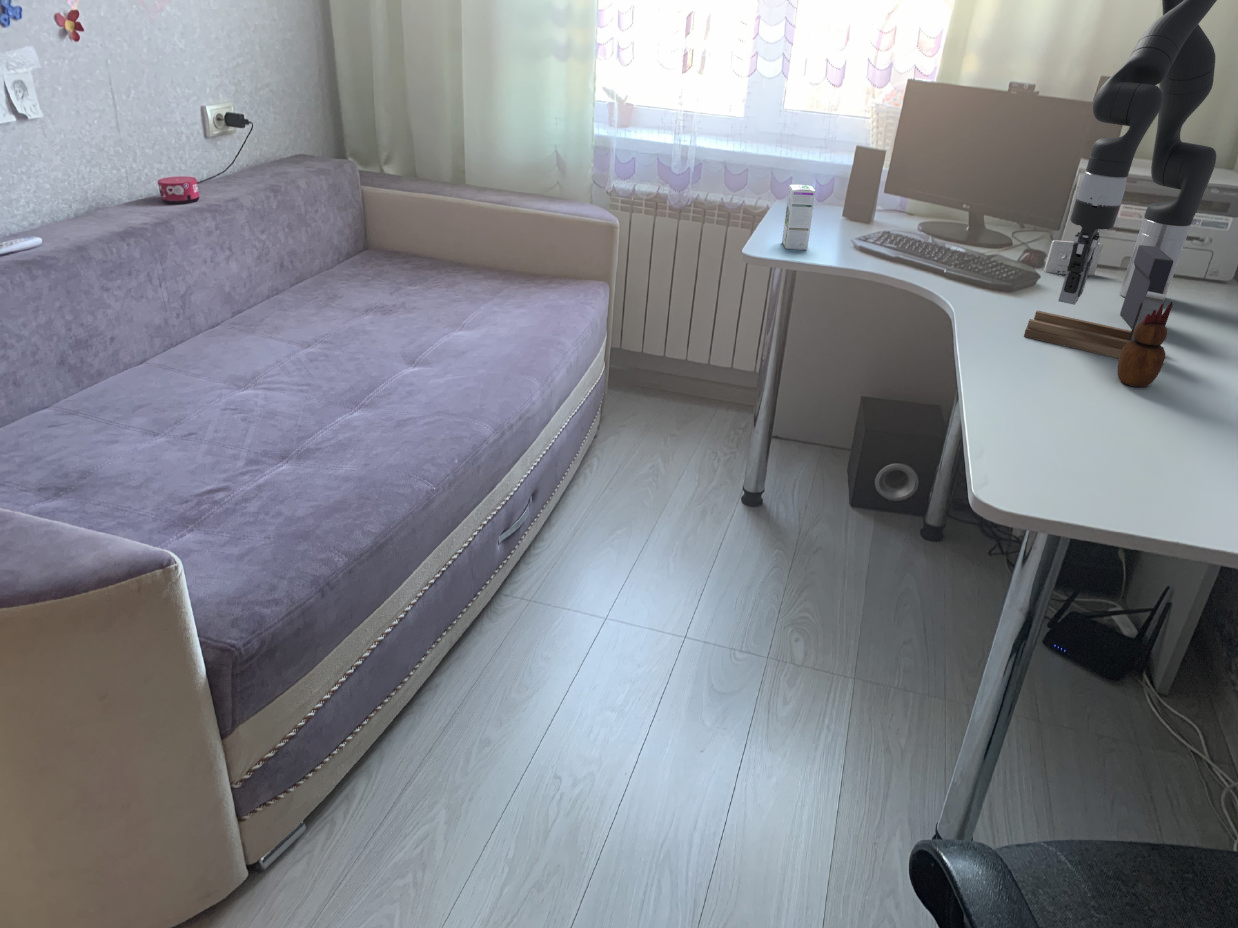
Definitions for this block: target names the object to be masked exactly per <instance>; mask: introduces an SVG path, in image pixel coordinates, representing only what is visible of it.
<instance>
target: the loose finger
mask: <svg viewBox="0 0 1238 928" xmlns="http://www.w3.org/2000/svg"><path fill="white" fill-rule="evenodd" d="M1087 256H1088V254H1087V255H1086V257H1087ZM1091 256H1092V255H1091ZM1092 260H1093V258H1092V257H1091V258H1090V261H1089V262H1087V263H1086V264H1085V267H1084V272H1083V273H1082V275H1081V278H1080V282H1079V285H1078V288H1077V291H1076V293H1074V294H1072V293H1067V292H1065V291H1064V287H1065V284H1066V280H1067V277H1068V274H1069V272H1068V271H1067V273H1066V274H1065V276H1064V281H1063V283H1062V286H1061V290H1060V293H1059V297H1058V299H1057V300H1058V301H1057V302H1060V303H1064V304H1068V305H1072V306H1074V305H1076V304H1077V302H1078V301H1079V299H1080V297H1081V296H1082V295H1083V293H1084V290H1085V287H1086V284H1087V280H1088V277H1089V275H1088V273H1089V270H1090V267H1091V264H1092ZM1074 265H1075V266H1080V265H1081V263H1079V262H1074Z"/></svg>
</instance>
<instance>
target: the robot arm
mask: <svg viewBox="0 0 1238 928" xmlns="http://www.w3.org/2000/svg"><path fill="white" fill-rule="evenodd" d="M1161 1H1162V3H1161V4H1162V16H1160V17H1159V18H1158V19H1156V20H1155V21H1154V22H1152V23H1151V25H1150V26H1148V27H1147V28H1146V30H1144V32H1143V33H1142V34H1141V36H1140V37H1139V39H1138V40H1137V42H1136V45H1135V46H1134V48H1133V50H1132V52H1131V54H1130V55H1129V58H1128V59H1127V60H1126V61H1125V62H1124V63H1123V64H1122V65H1121V67H1119V69H1117V70H1116V71H1115V73H1113V74H1112V75H1111V76H1110V77H1109V78H1108V79H1107V80H1106V81H1105V82H1104V83H1103V84H1102V86H1101V87H1100V88H1099V90H1098V92H1097V93H1096V95H1095V97H1094V100H1093V103H1092V113H1093V116H1094V118H1095V119H1096V120H1097V121H1099V122H1101V123H1104V124H1111V125H1112V124H1113V125H1116V126H1117V125H1118V126H1126V127H1129V128H1128V129H1127V131H1126V133H1124V134H1123V135H1122V136H1117V137H1116V136H1115V137H1104V138H1103V137H1102V138H1099V139H1097V140H1096V141H1095V142H1094V143H1093V145H1092V147H1091V151H1090V156H1089V159H1088V162H1087V165H1086V169H1085V171H1084V174H1083V177H1082V179H1081V182H1080V183H1079V188H1078V190H1077V195H1076V199H1075V201H1074V205H1073V207H1072V212H1071V215H1070V222H1071V223H1072V224H1074V225H1075V226H1080V227H1081V230H1080V231H1078V232H1077V233H1075V235H1074V239H1073V243H1074V244H1073V248H1072V251H1071V254H1070V255H1069V259H1070V262H1069V266H1068V267H1067V269H1068V270H1067V271H1068V272H1069V274H1068V277H1067V280H1066V284H1065V287H1064V291H1065V292H1067V293H1072V294H1074V293H1076V291H1077V288H1078V285H1079V282H1080V278H1081V275H1082V273H1083V272H1084V267H1085V264H1086V263H1087V262H1089V261H1090V258H1091V257H1093V255H1094V252H1095V249H1096V245H1097V244H1098V243H1100V239H1101V235H1100V232H1099V230H1110V229H1112V228H1114V226H1115V224H1116V220H1117V217H1118V214H1119V210H1120V207H1121V205H1122V201H1123V197H1124V195H1125V192H1126V191H1125V190H1126V187H1127V180H1128V177H1129V173H1130V171H1131V166H1132V163H1133V161H1134V159H1135V158H1134V157H1135V154H1136V152H1137V150H1138V148H1139V145H1140V144H1141V143H1142V140H1143V138H1144V136H1145V135H1146V134H1147V132H1148V130H1149V128H1150V127H1151V126H1152V124H1153V122H1154V120H1155V119H1156V118H1157V126H1156V133H1155V139H1154V146H1153V153H1152V159H1151V166H1150V167H1151V168H1150V169H1151V170H1150V174H1151V179H1152V181H1153V183H1155V184H1157V185H1159V186H1163V187H1166V188H1171V189H1176V190H1180V192H1179V193H1178V195H1177V197H1176V198H1174V199H1171V200H1169V201H1168V200H1167V201H1161V202H1154V203H1150V204H1149V205H1148V206H1147V208H1146V210H1145V213H1144V216H1143V219H1142V222H1141V226H1140V228H1139V232H1138V235H1137V238H1136V242H1135V244H1134V248H1133V251H1132V253H1131V257H1130V260H1129V262H1128V266H1127V269H1126V271H1125V275H1124V278H1123V281H1122V284H1121V287H1120V290H1119V295H1120V296H1122V297H1124V298H1125V297H1126V294H1127V291H1128V288H1129V285H1130V281H1131V278H1132V275H1133V272H1134V269H1135V265H1134V260H1135V256H1136V253H1137V250H1138V247H1139V245H1144V246H1153V247H1158V248H1159V249H1161V250H1162V251H1163V252H1164V253H1165V254H1166V255H1168V256H1169V257H1170V258H1171V259H1172V260H1173V262H1174V265H1173V268H1172V271H1171V274H1170V277H1169V280H1167V282H1168V286H1167V289H1166V291H1165V294H1164V295H1165V298H1164V301H1163V303H1165V301H1166V296H1167V294H1168V292H1169V288H1170V286H1171V284H1172V281H1173V278H1174V275H1175V272H1176V269H1177V265H1178V263H1179V260H1180V258H1181V255H1182V252H1183V249H1184V246H1185V243H1186V241H1187V237H1188V235H1189V232H1190V228H1191V226H1192V223H1193V220H1194V218H1195V215H1196V213H1197V211H1198V210H1199V207H1200V205H1201V203H1202V199H1203V197H1204V195H1205V192H1206V189H1207V187H1208V184H1209V182H1210V179H1211V177H1212V174H1213V172H1214V169H1215V167H1216V162H1217V152H1216V149H1215V148H1213V147H1211V146H1207V145H1203V144H1202V145H1201V144H1198V143H1190V142H1184V141H1182V140H1181V132H1182V127H1183V125H1184V123H1186V121H1187V120H1188V119H1189V117H1190V116H1191V115H1192V114H1193V113H1194V112H1195V111H1196V110H1197V109H1198V108H1199V107H1200V105H1202V103H1203V102H1204V101H1205V100H1206V98H1207V97H1209V95H1210V93H1211V91H1212V88H1213V85H1214V77H1215V68H1216V67H1215V66H1216V51H1215V50H1214V49H1215V48H1214V47H1213V44H1212V42H1211V40H1210V39H1209V37H1208V36H1207V35H1206V33H1205V31H1204V30H1203V29H1202V27H1201V26H1200V23H1201V21H1202V20H1203V19H1204V18H1205V17H1206V15H1208V12H1210V10H1211V8H1212V7H1213V6H1214V5H1215V4H1216V2H1217V1H1218V0H1161ZM1157 116H1158V117H1157ZM1087 254H1088V256H1087V257H1086V255H1087ZM1091 255H1092V256H1091ZM1074 262H1079V263H1081V265H1080V266H1075V265H1074Z"/></svg>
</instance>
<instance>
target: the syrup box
mask: <svg viewBox="0 0 1238 928" xmlns="http://www.w3.org/2000/svg"><path fill="white" fill-rule="evenodd" d="M815 196H816V190H815V189H814V187H813V186H812V185H807V184H789V187H788V194H787V202H786V210H785V216H784V225H783V231H782V232H783V233H782V240H781V242H782V245H783V247H784V249H787V250H788V249H789V250H799V251H801V250H802V251H807V250H808V246H809V241H810V235H811V234H810V233H811V226H812V219H813V210H814V204H815Z"/></svg>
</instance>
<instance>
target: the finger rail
mask: <svg viewBox="0 0 1238 928" xmlns="http://www.w3.org/2000/svg"><path fill="white" fill-rule="evenodd" d="M1164 298H1165V299H1166V297H1165V295H1164V294H1159V293H1154V292H1149V291H1148V292H1147V294H1146V296H1145V299H1143V300H1142V302H1141V304H1140V307H1139V310H1138V313H1137V316H1136V319H1135V322H1134V325H1133V328H1131V330H1129V329H1124V328H1120V327H1115V326H1112V325H1111V326H1110V325H1106V324H1102V323H1097V322H1093V321H1087V320H1082V319H1079V318H1075V317H1070V316H1065V315H1060V314H1055V313H1052V312H1046V311H1041V310H1036V311H1035V313H1034V317H1033V319H1031V318H1029V319H1028V322H1027V326H1026V328H1025V331H1024V334H1023V337H1024V338H1029V339H1032V340H1033V339H1034V340H1037V341H1041V342H1046V343H1050V344H1055V345H1059V346H1064V347H1068V348H1072V349H1077V350H1080V351H1086V352H1090V353H1094V354H1097V355H1102V356H1106V357H1111V358H1116V359H1119V356H1120V353H1121V350H1122V348H1123V346H1124V345H1125V344H1126V343H1128V342H1129V341H1133V340H1135V339H1134V337H1133V334H1134V330H1135V327H1136V326H1137V324H1139V323H1141V322H1142V321H1144V319H1145V317H1146V316H1147V314H1150V316H1151V314H1152V312H1153V310H1156V314H1157V312H1158V310H1159V308H1160V306H1161V304H1163V305H1164V302H1165V300H1164ZM1163 301H1164V302H1163ZM1160 346H1162V344H1161V345H1160Z"/></svg>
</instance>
